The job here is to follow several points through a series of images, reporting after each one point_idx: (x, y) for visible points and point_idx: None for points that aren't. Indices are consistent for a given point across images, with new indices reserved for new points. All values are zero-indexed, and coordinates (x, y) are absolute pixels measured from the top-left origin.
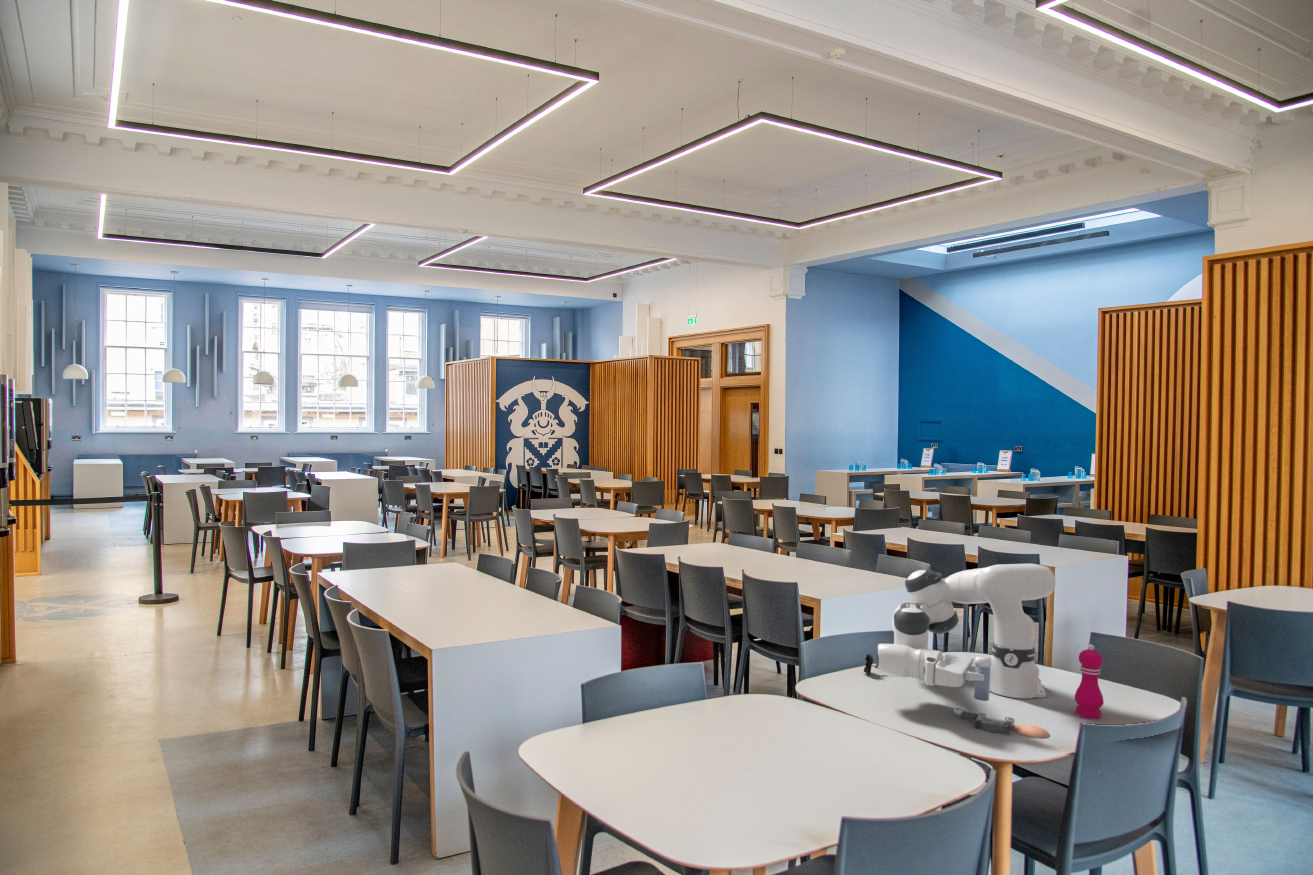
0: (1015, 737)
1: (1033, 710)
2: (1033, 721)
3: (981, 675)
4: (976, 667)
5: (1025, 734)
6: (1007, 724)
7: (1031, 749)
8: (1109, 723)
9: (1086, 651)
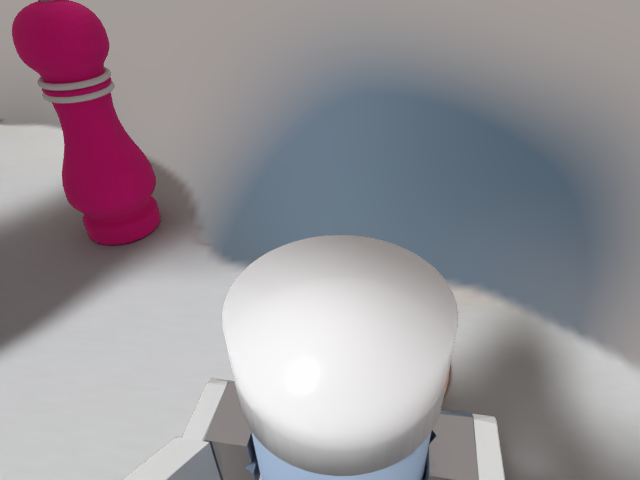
0: (502, 432)
1: (89, 347)
2: None
3: (495, 444)
4: (396, 470)
5: (446, 388)
6: None
7: (609, 379)
8: (192, 199)
9: (55, 8)
